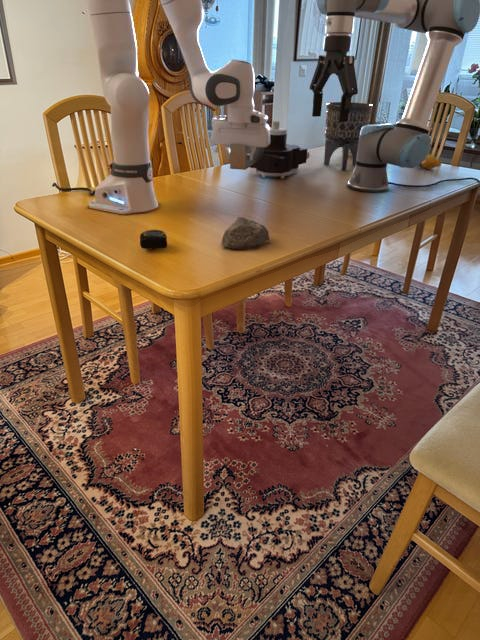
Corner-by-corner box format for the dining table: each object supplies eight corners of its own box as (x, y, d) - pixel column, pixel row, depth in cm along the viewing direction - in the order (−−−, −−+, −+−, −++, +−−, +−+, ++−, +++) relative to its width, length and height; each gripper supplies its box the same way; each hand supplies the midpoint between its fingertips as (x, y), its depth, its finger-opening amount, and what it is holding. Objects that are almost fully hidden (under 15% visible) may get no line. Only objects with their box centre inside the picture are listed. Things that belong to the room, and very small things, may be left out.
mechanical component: (240, 120, 182) (283, 115, 202) (239, 174, 192) (280, 164, 212) (283, 126, 170) (325, 120, 190) (280, 183, 180) (320, 171, 200)
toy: (415, 162, 205) (409, 155, 218) (417, 175, 208) (411, 168, 221) (441, 154, 202) (433, 147, 215) (443, 168, 205) (435, 160, 218)
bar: (249, 155, 178) (250, 134, 174) (263, 156, 176) (264, 134, 172) (230, 168, 157) (229, 144, 153) (245, 169, 156) (245, 145, 152)
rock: (255, 233, 128) (256, 211, 124) (276, 242, 122) (278, 219, 119) (217, 244, 120) (217, 220, 117) (239, 254, 115) (239, 230, 111)
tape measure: (140, 252, 115) (139, 238, 113) (141, 242, 120) (140, 229, 119) (167, 251, 116) (166, 237, 114) (167, 241, 121) (166, 228, 120)
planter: (313, 167, 208) (319, 103, 195) (331, 160, 222) (338, 101, 209) (353, 173, 199) (362, 107, 185) (369, 166, 213) (379, 104, 199)
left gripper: (208, 115, 151) (209, 158, 158) (267, 118, 146) (266, 163, 153) (214, 113, 156) (215, 155, 163) (272, 116, 151) (270, 159, 158)
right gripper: (302, 35, 133) (296, 114, 144) (356, 33, 114) (344, 124, 124) (323, 36, 136) (316, 114, 147) (379, 34, 117) (366, 123, 127)
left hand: (240, 159), depth 158 cm, fingers closed on bar, 5 cm apart
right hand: (329, 119), depth 136 cm, fingers open, 13 cm apart
